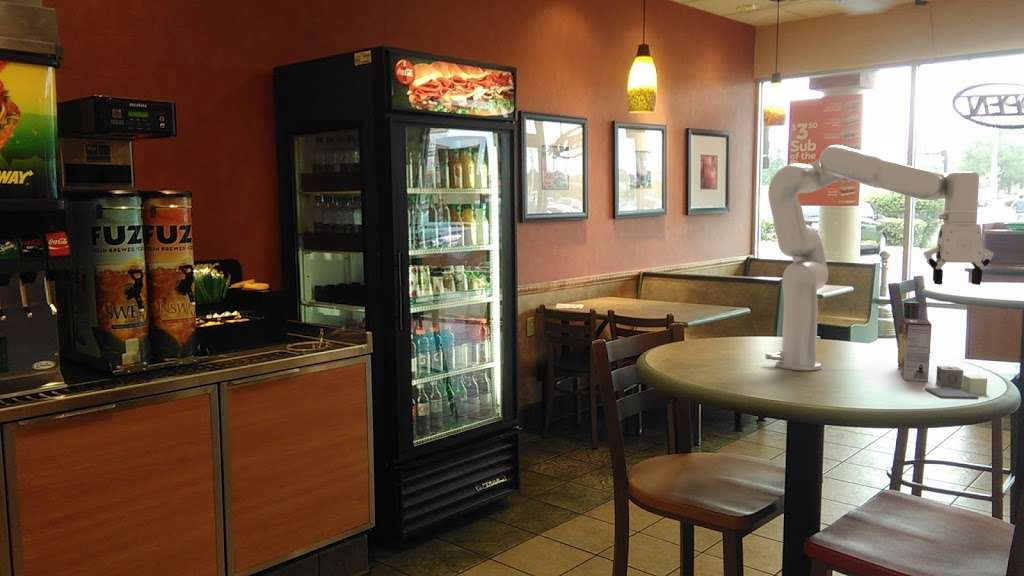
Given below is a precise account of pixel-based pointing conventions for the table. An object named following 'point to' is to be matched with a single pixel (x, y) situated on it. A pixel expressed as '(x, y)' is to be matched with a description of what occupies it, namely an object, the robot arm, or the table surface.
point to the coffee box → (916, 349)
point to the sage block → (974, 384)
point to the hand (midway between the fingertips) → (956, 284)
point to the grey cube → (949, 377)
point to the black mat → (951, 393)
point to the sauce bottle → (909, 313)
